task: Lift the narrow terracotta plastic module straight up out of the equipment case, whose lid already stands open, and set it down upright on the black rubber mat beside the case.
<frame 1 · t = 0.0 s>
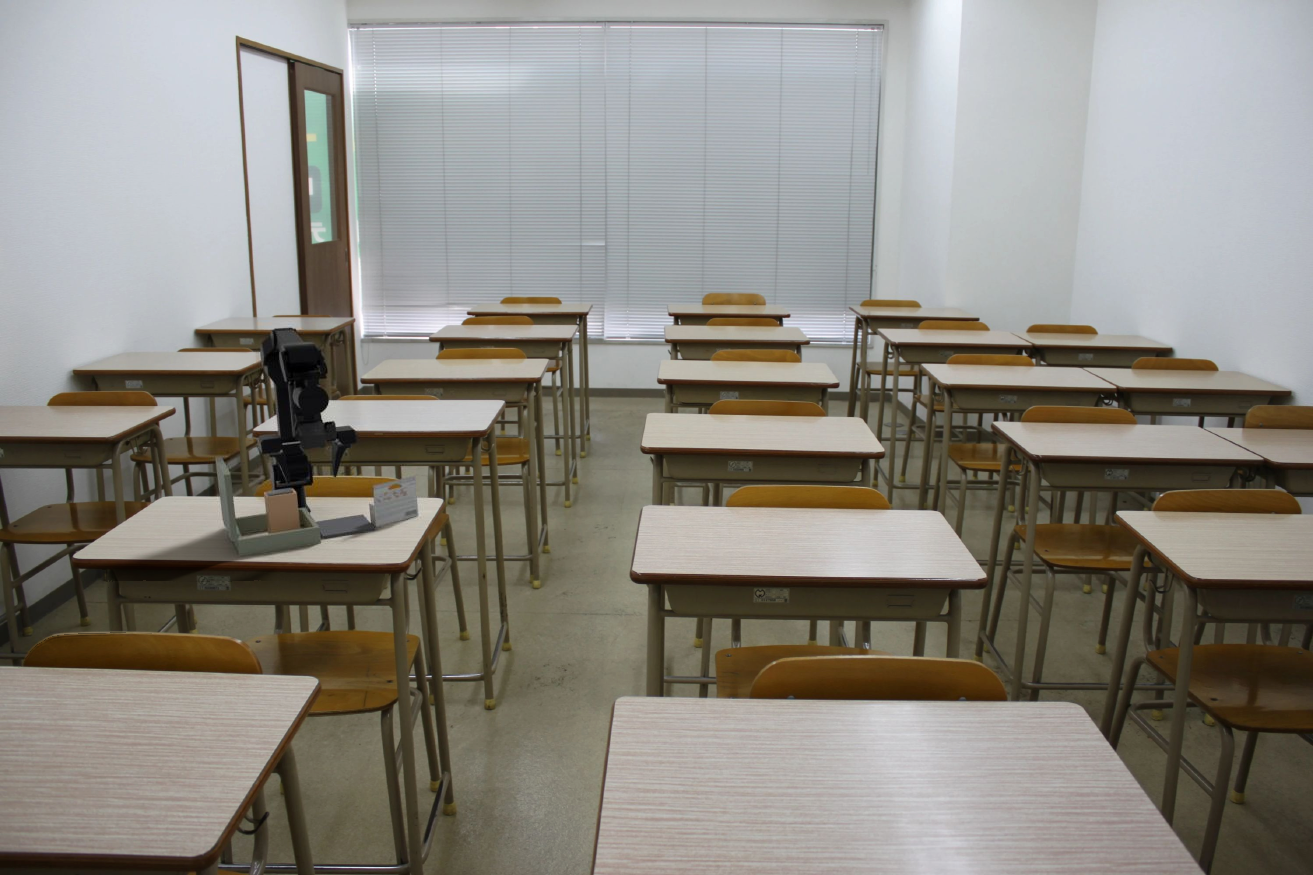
hand: (312, 479, 198), 15 cm above the table, tool pointing down, fingers open, 9 cm apart
module: (284, 537, 208), resting in equipment case
rubber mat: (343, 527, 214), on the table
equipment case: (274, 538, 207), on the table
ink cartridge box: (395, 521, 219), on the table
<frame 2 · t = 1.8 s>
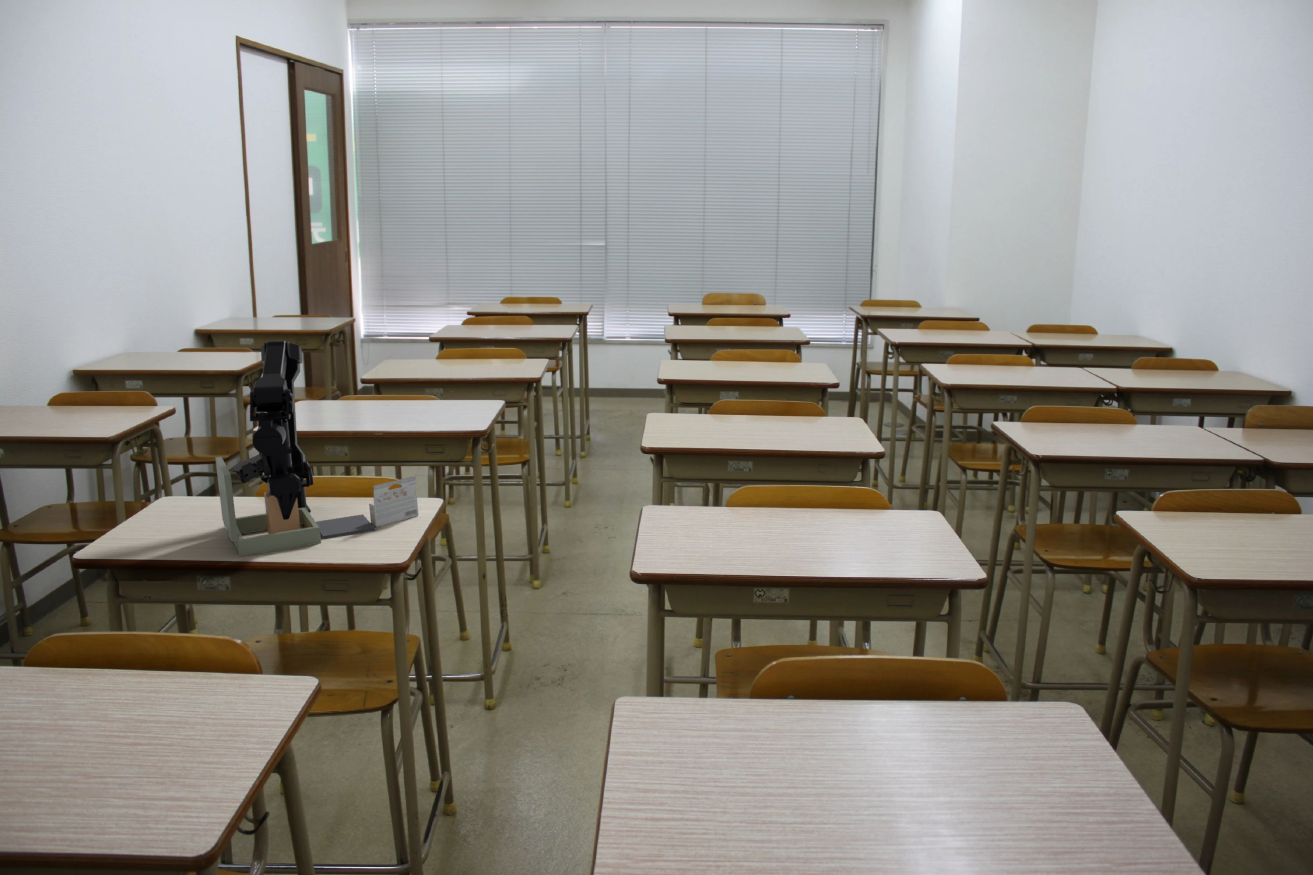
hand: (282, 513, 207), 5 cm above the table, tool pointing down, fingers open, 9 cm apart
nothing on the table moved.
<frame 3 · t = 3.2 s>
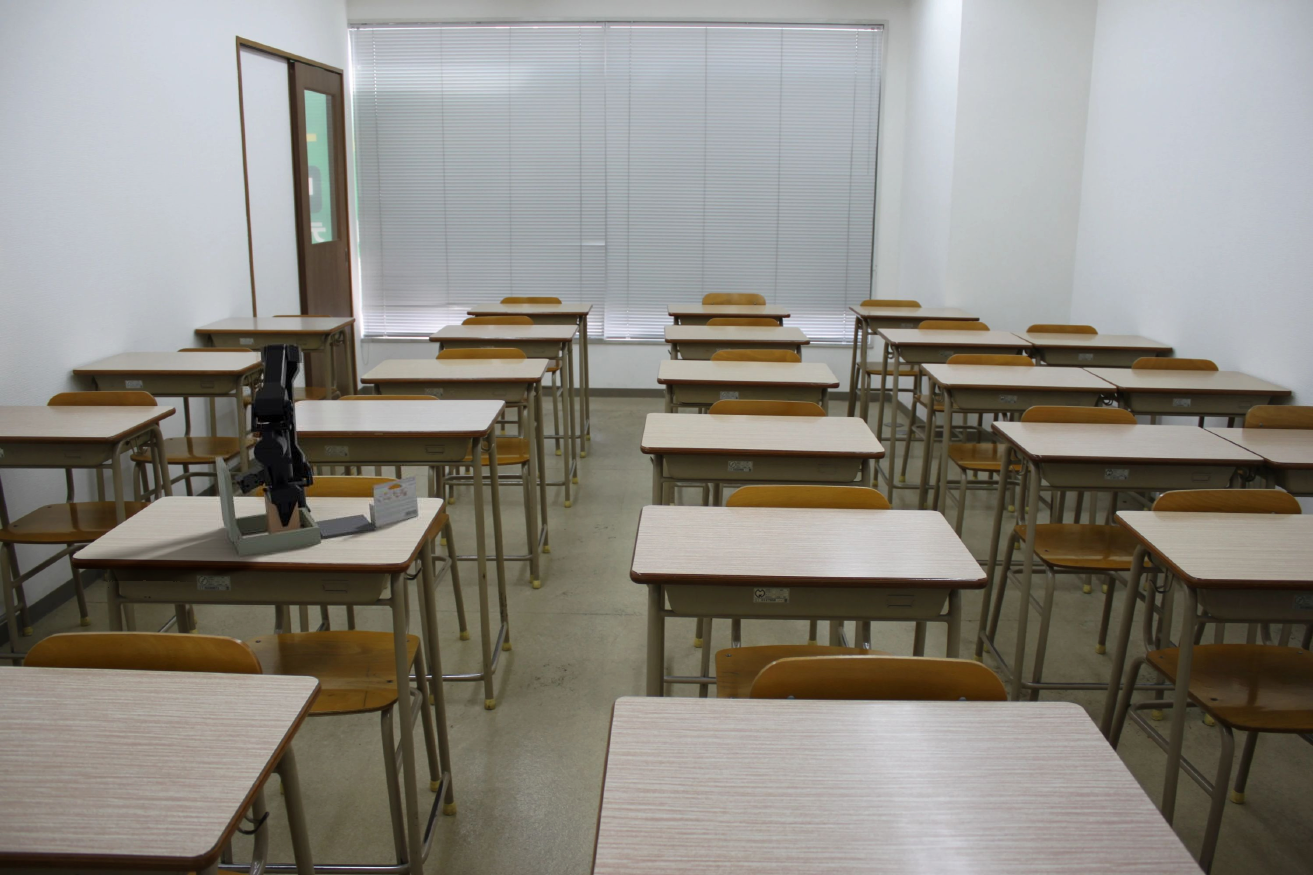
hand: (283, 523, 207), 3 cm above the table, tool pointing down, fingers closed on module, 4 cm apart
module: (284, 536, 208), resting in equipment case, touching gripper
everything else where it was.
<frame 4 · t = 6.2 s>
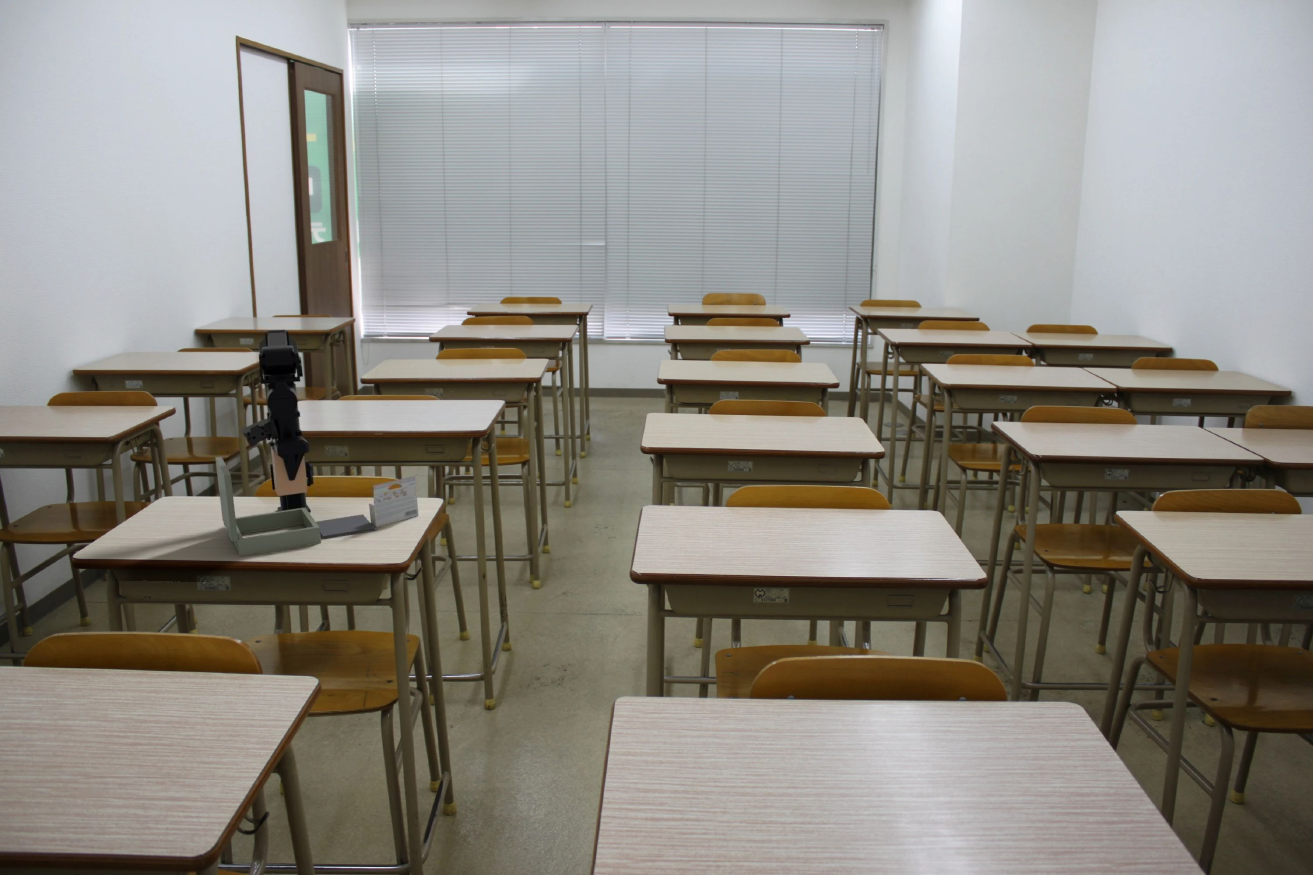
hand: (290, 477, 206), 13 cm above the table, tool pointing down, fingers closed on module, 4 cm apart
module: (291, 491, 207), point 10 cm above the table, touching gripper
everything else where it was.
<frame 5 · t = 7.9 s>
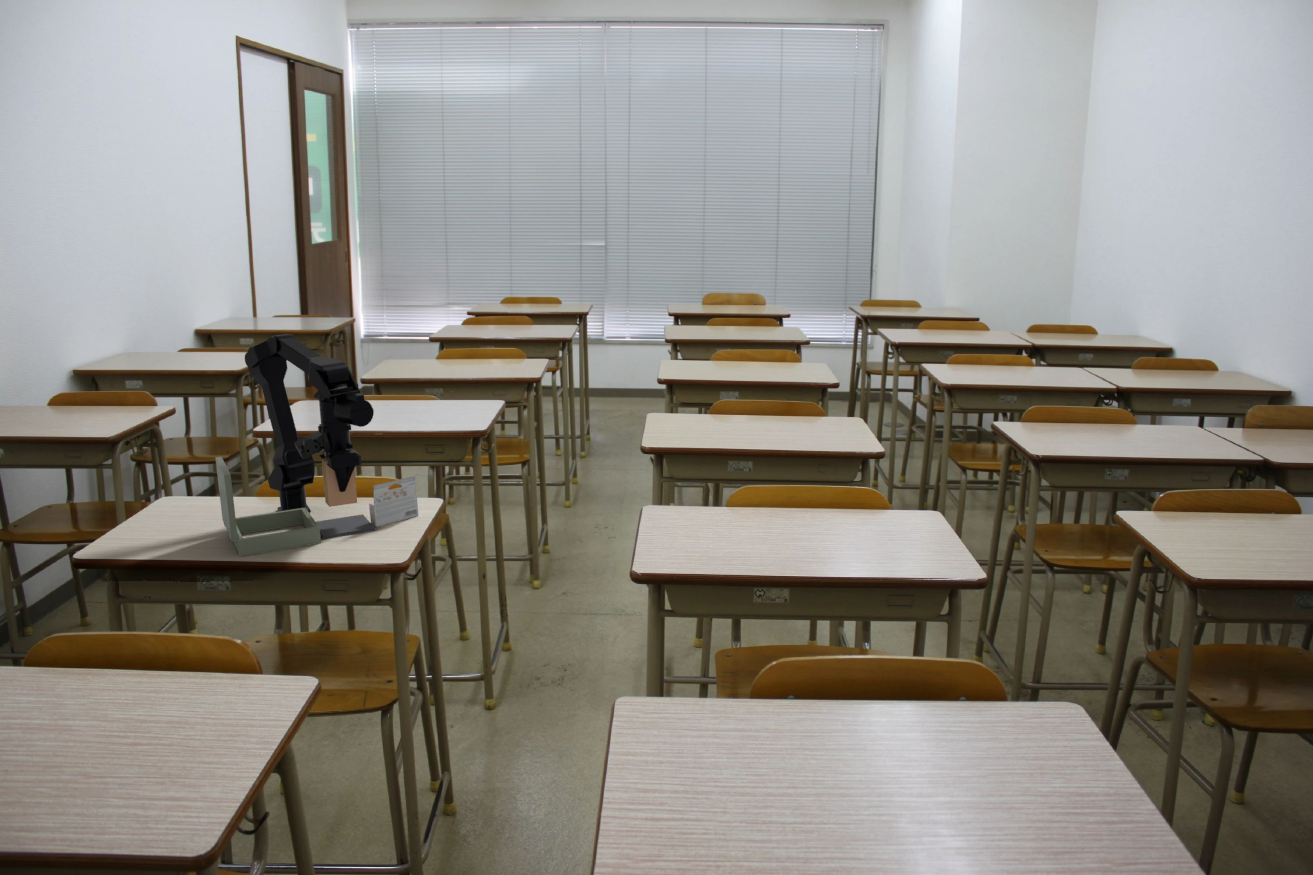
hand: (340, 489, 212), 9 cm above the table, tool pointing down, fingers closed on module, 4 cm apart
module: (341, 502, 213), point 6 cm above the table, touching gripper
everything else where it was.
when the fingers open (5 cm above the table, at t = 9.3 s): module drops 1 cm, resting on rubber mat.
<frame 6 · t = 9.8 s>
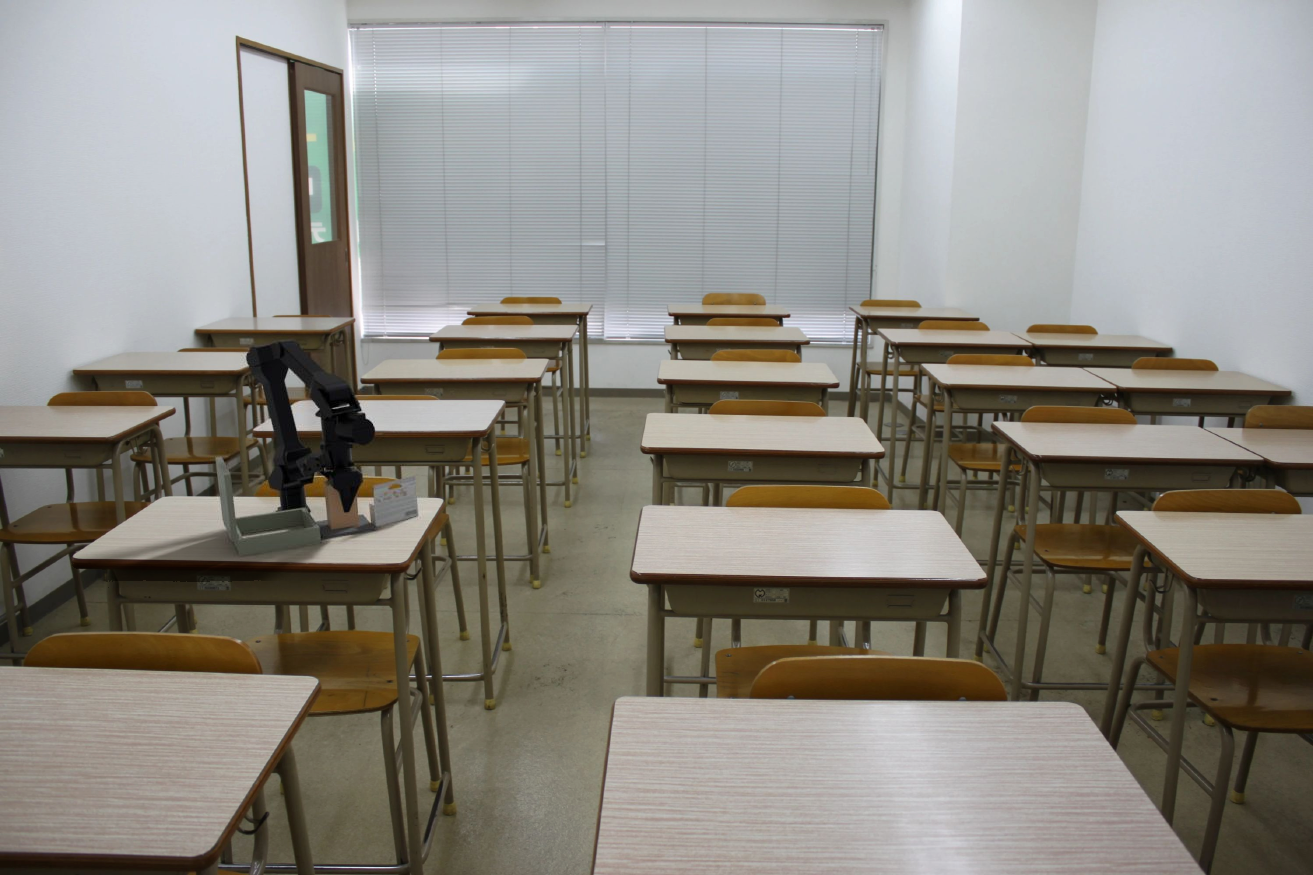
hand: (342, 506, 213), 5 cm above the table, tool pointing down, fingers open, 9 cm apart
module: (343, 524, 214), point 1 cm above the table, touching rubber mat
everything else where it was.
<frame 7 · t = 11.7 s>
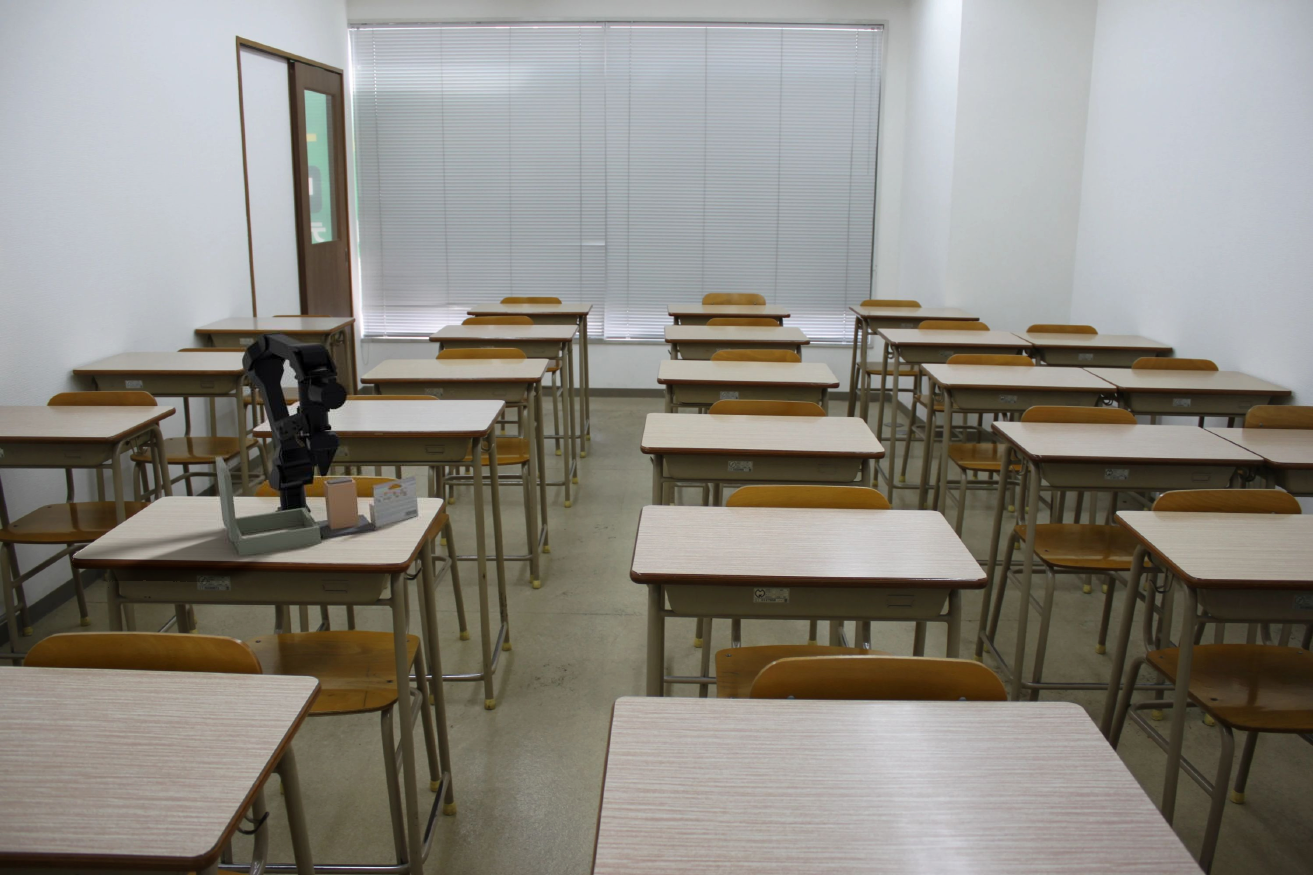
hand: (318, 471, 212), 13 cm above the table, tool pointing down, fingers open, 9 cm apart
nothing on the table moved.
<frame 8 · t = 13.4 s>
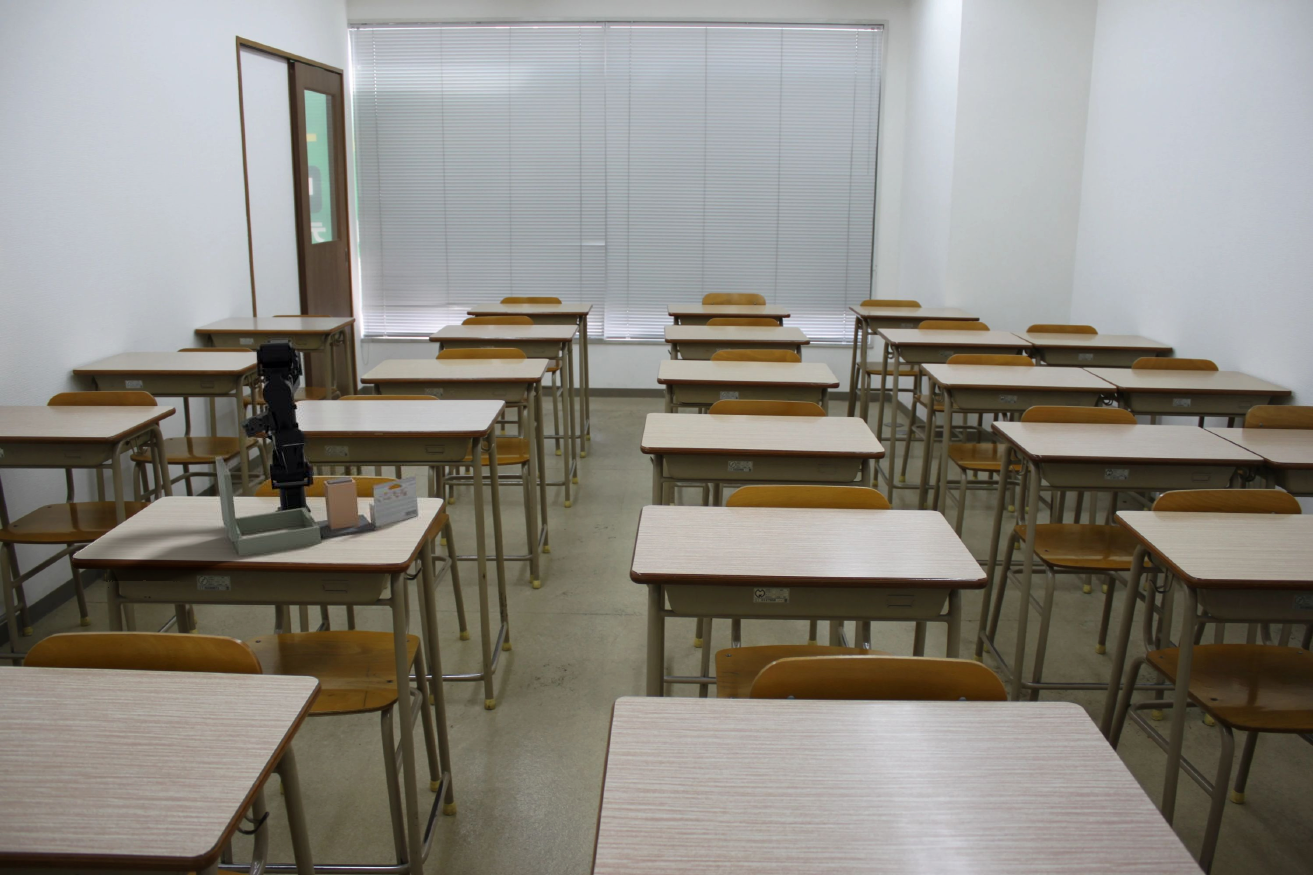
hand: (287, 469, 212), 13 cm above the table, tool pointing down, fingers open, 9 cm apart
nothing on the table moved.
at the end: module inside the target area on the rubber mat (0.1 cm from its centre), point 0.6 cm above the rubber mat's base; module tilted 0° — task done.
